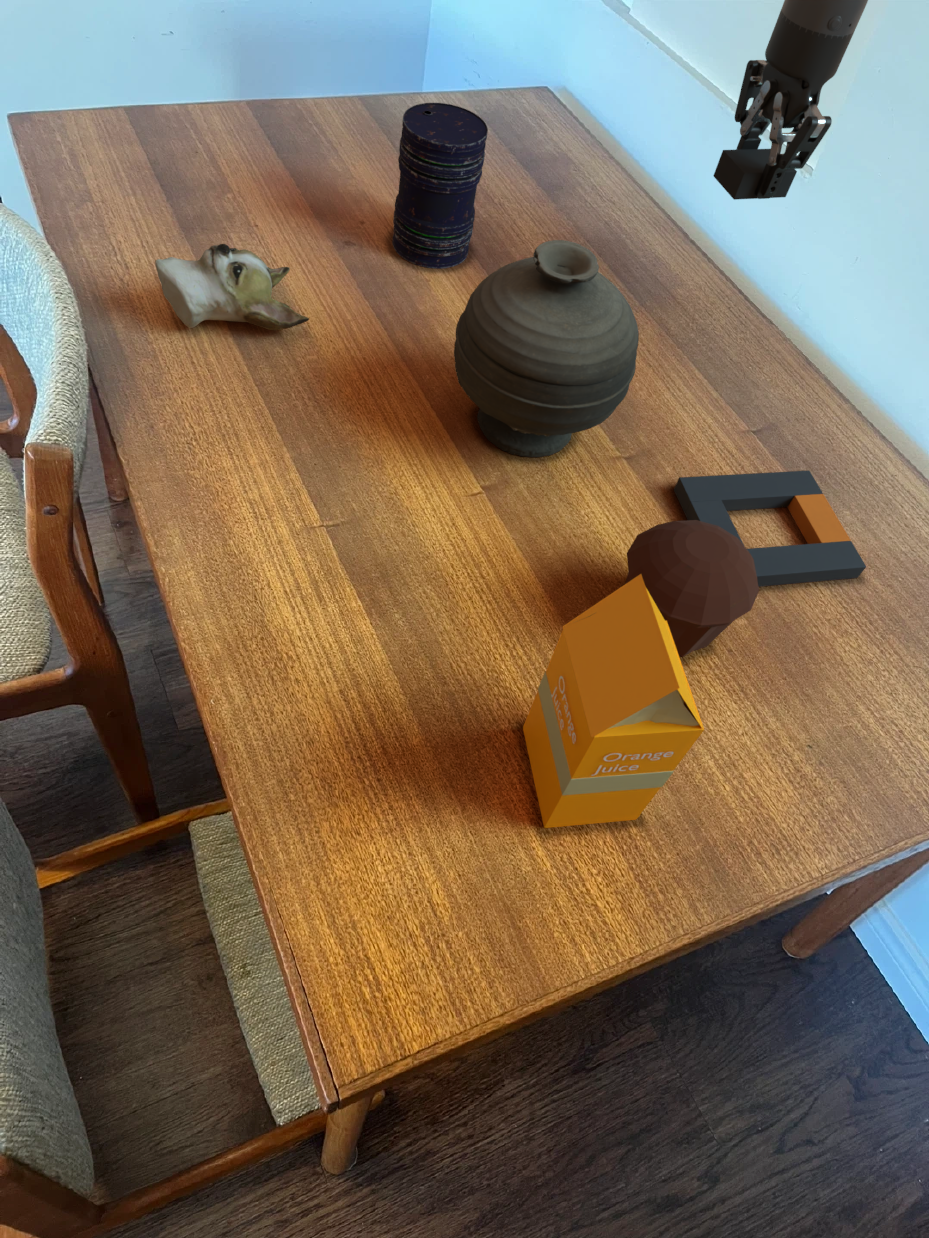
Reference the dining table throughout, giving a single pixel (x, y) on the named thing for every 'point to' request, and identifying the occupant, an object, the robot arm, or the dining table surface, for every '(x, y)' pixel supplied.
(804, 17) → the robot arm
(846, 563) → the socket pad
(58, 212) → the dining table surface
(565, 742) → the orange juice
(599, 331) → the pot
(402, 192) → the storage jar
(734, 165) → the black block
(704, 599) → the muffin
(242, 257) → the ceramic sculpture
